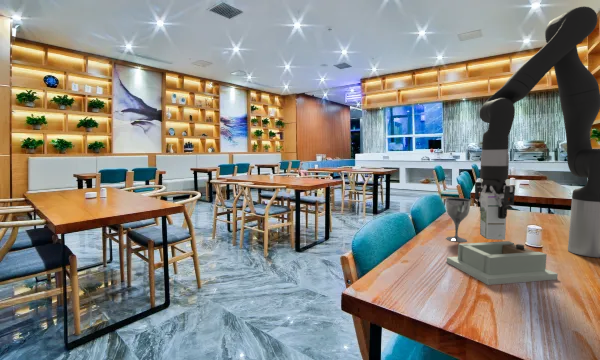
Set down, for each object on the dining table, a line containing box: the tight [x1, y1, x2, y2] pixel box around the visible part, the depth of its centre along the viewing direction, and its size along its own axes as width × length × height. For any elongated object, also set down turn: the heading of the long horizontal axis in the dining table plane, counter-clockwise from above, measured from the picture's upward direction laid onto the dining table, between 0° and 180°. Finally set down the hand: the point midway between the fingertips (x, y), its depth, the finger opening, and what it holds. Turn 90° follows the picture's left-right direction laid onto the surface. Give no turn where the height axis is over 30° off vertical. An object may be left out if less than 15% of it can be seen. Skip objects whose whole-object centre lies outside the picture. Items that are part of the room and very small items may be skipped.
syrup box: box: [479, 192, 507, 241], centre depth 101 cm, size 6×6×14 cm
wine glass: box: [445, 197, 471, 243], centre depth 116 cm, size 8×8×15 cm
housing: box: [446, 240, 559, 286], centre depth 86 cm, size 20×16×6 cm
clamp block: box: [502, 243, 536, 254], centre depth 87 cm, size 4×7×5 cm, turn 10°
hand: (492, 215), depth 101 cm, fingers closed on syrup box, 7 cm apart
